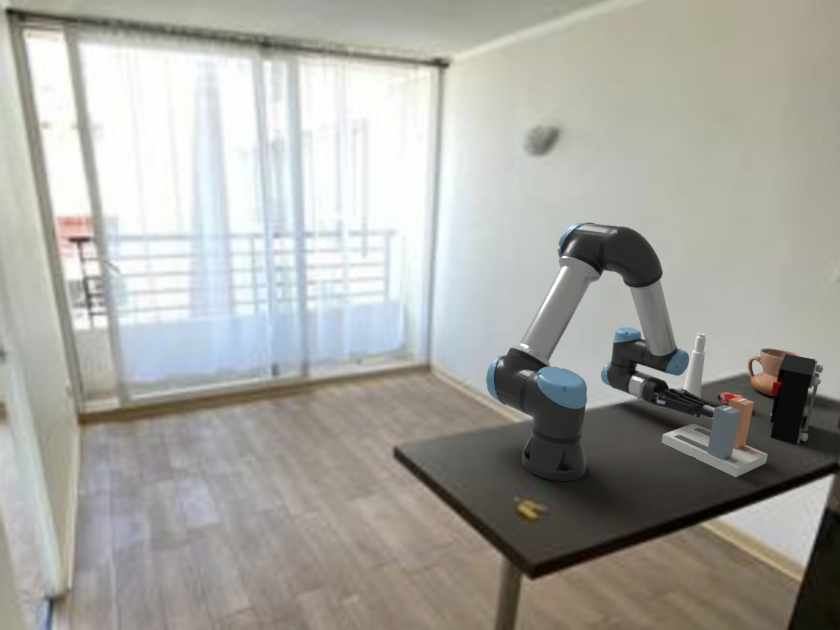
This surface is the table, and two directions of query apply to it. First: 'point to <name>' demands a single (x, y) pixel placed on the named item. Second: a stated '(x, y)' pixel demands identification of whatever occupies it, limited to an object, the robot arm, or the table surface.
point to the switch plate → (696, 445)
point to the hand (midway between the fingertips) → (727, 419)
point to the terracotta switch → (742, 419)
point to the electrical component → (793, 398)
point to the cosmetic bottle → (696, 367)
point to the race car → (727, 397)
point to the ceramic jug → (767, 369)
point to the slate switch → (723, 431)
